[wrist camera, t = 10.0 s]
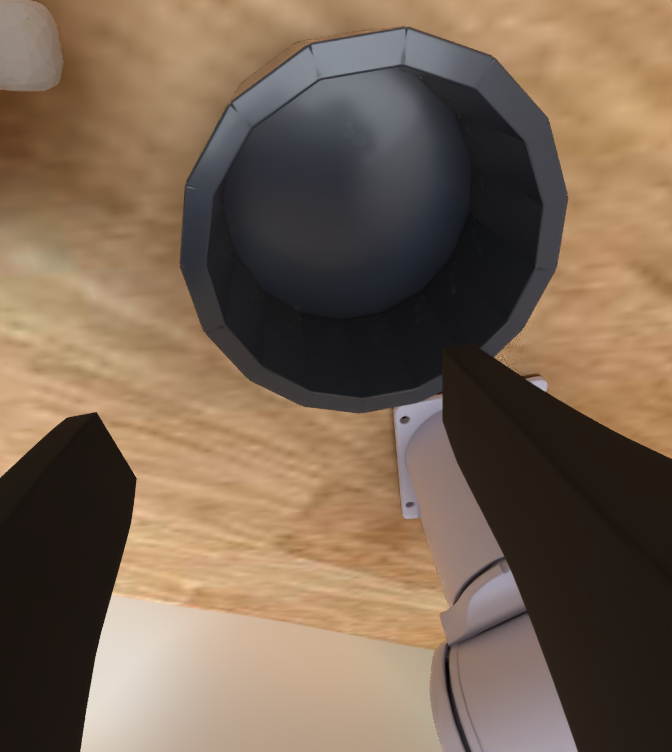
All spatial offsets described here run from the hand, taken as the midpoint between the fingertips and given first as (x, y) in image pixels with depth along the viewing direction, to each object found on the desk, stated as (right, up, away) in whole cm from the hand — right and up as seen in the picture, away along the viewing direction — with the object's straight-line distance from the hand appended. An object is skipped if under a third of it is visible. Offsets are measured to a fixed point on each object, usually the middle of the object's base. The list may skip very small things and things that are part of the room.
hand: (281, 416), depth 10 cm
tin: (+2, +7, +8) cm, 11 cm away
